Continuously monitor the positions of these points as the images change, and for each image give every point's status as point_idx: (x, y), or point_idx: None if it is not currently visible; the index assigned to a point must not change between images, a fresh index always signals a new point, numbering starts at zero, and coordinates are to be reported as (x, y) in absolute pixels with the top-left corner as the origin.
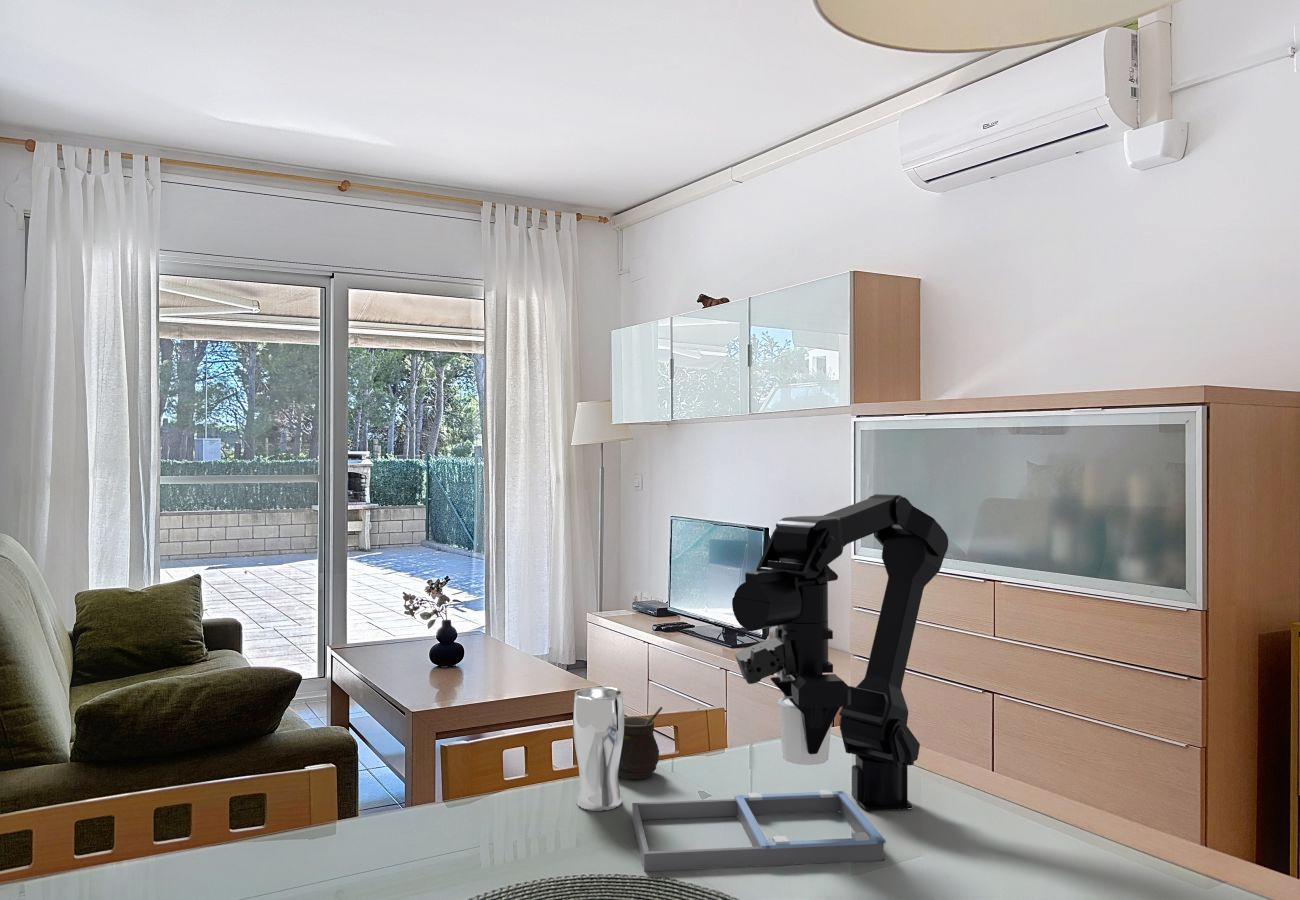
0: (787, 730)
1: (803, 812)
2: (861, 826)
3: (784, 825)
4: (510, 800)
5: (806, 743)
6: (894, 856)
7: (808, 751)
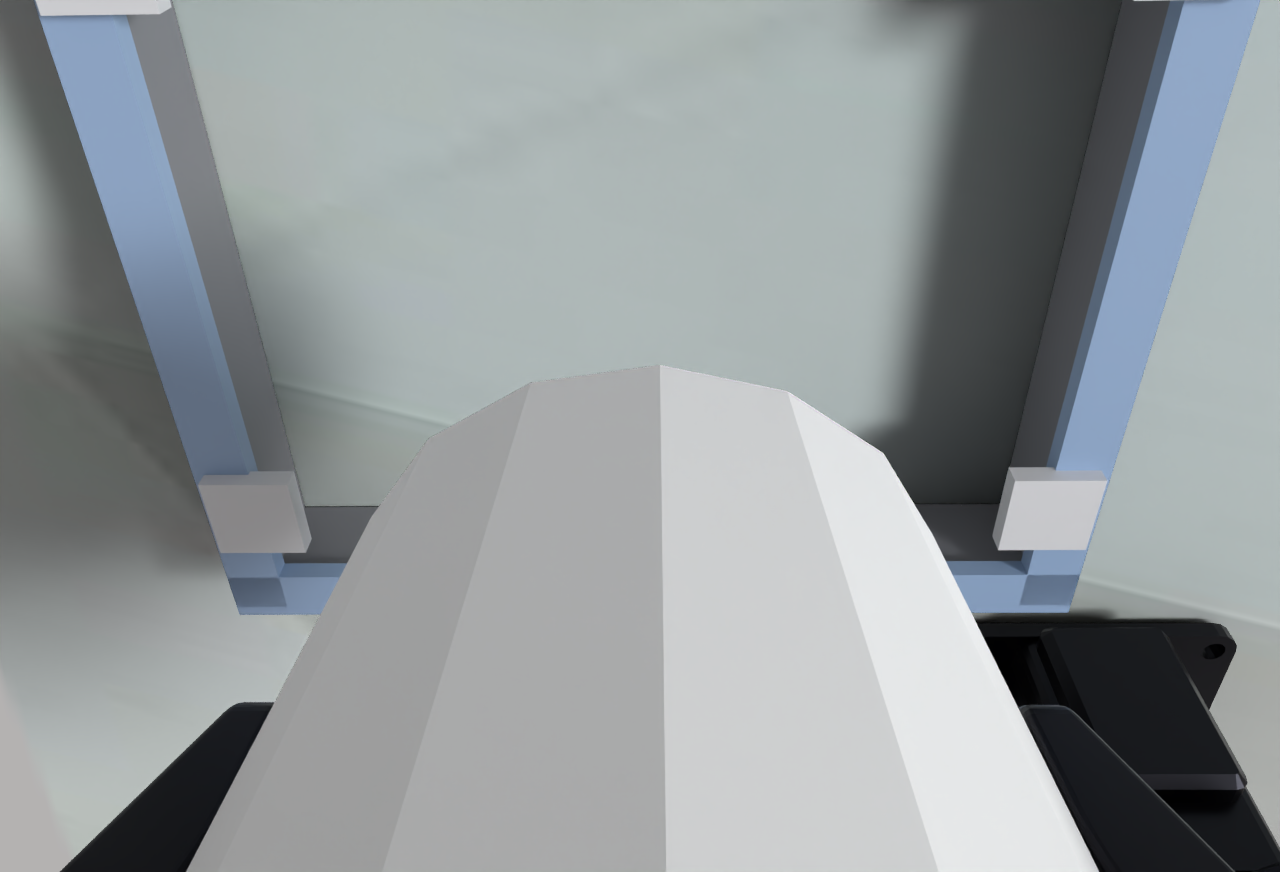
0: (335, 777)
1: (1053, 300)
2: None
3: (866, 111)
4: None
5: (175, 809)
6: None
7: (211, 725)
